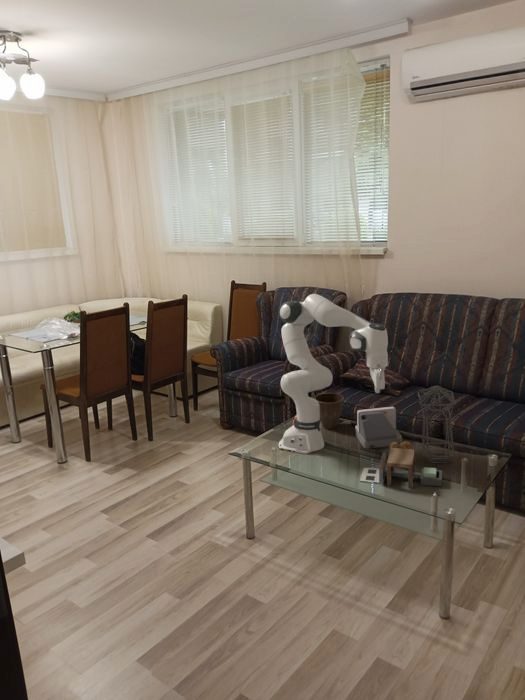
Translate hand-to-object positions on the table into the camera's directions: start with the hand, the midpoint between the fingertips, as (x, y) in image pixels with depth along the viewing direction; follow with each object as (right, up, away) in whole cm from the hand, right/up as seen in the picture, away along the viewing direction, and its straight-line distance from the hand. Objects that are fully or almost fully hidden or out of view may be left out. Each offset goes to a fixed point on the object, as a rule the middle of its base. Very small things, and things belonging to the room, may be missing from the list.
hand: (377, 392), depth 244 cm
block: (+20, -37, -9) cm, 43 cm away
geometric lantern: (+28, -31, +9) cm, 43 cm away
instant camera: (+7, -26, +33) cm, 43 cm away
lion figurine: (+14, -31, +13) cm, 36 cm away
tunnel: (+9, -36, -6) cm, 38 cm away
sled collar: (+13, -36, -7) cm, 39 cm away
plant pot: (-14, -22, +53) cm, 59 cm away
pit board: (-3, -36, -2) cm, 36 cm away
